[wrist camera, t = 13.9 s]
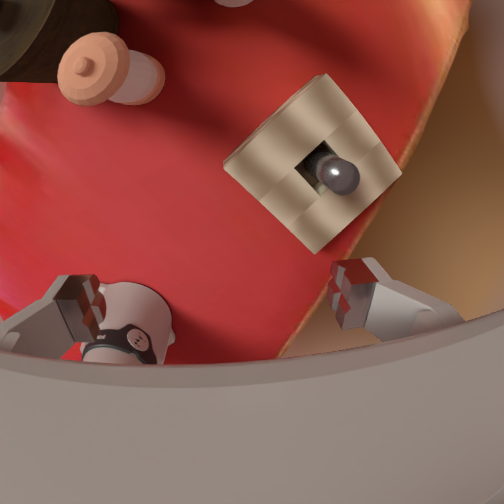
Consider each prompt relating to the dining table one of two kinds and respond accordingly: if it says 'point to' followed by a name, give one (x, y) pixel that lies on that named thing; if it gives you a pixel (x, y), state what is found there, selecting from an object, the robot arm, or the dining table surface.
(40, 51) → the wooden container
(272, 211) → the socket block
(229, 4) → the cylindrical container
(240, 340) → the dining table surface
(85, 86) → the pepper shaker
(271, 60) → the dining table surface
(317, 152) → the pin
